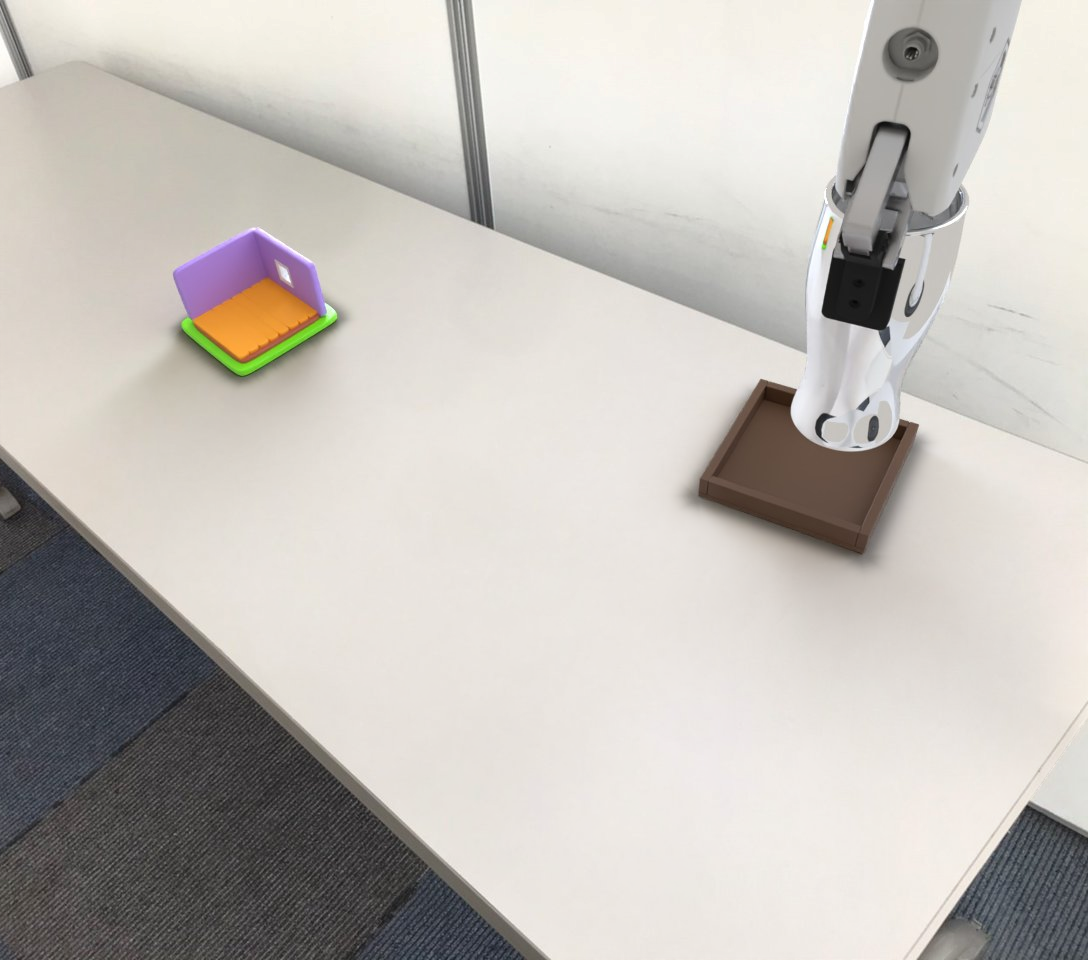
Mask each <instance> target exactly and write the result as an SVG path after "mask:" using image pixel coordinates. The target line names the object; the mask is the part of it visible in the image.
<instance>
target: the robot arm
mask: <svg viewBox="0 0 1088 960" xmlns="http://www.w3.org/2000/svg"><path fill="white" fill-rule="evenodd" d="M1022 1H1023V0H870V2H869V5H868V10H867V15H866V17H865V19H864V21H863V32H862V36H861V41H860V45H859V50H858V54H857V60H856V64H855V67H854V72H853V73H854V74H853V78H852V83H851V88H850V93H849V98H848V102H847V107H846V114H845V119H844V124H843V128H842V134H841V139H840V145H839V151H838V157H837V164H836V172H835V175H836V183H835V188H836V190H837V192H838V194H839V195H840V196H841V198H842V199H844V200H846V199H848V198H849V201H848V204H847V208H846V211H845V215H844V218H843V222H842V225H841V228H840V232H839V235H838V239H837V242H836V245H835V248H834V249H833V253H832V259H831V264H830V269H829V274H828V279H827V284H826V290H825V295H824V300H823V305H822V310H821V312H822V315H823V316H824V317H826V318H828V319H832V320H837V321H841V322H845V323H849V324H853V325H857V326H861V327H865V328H870V329H874V330H879V331H881V330H884V329H885V328H886V327H887V325H888V323H889V321H890V318H891V314H892V310H893V306H894V302H895V299H896V295H897V291H898V287H899V283H900V279H901V276H902V272H903V268H904V264H905V260H906V259H904V258H899V256H900V253H901V250H902V247H903V244H904V241H905V238H906V234H907V231H908V228H909V225H910V222H911V219H912V216H913V213H914V211H917V212H924V213H928V216H936V215H938V214H940V213H941V212H943V211H944V210H946V209H947V208H948V207H949V206H950V204H951V202H952V201H953V199H954V197H955V195H956V193H957V191H958V189H959V187H960V185H961V184H963V182H964V179H965V178H966V175H967V173H968V171H969V169H970V167H971V165H972V164H973V161H974V159H975V157H976V155H977V153H978V151H979V148H980V147H981V144H982V142H983V140H984V138H985V135H986V133H987V130H988V127H989V125H990V121H991V118H992V115H993V111H994V107H995V103H996V99H997V94H998V92H999V91H998V90H999V87H1000V83H1001V79H1002V75H1003V71H1004V67H1005V64H1006V60H1007V56H1008V52H1009V49H1010V46H1011V42H1012V39H1013V35H1014V31H1015V27H1016V23H1017V20H1018V16H1019V12H1020V9H1021V5H1022ZM895 181H896V182H901V183H906V185H907V190H908V194H907V197H903V196H897V195H892V194H890V193H891V191H892V188H893V185H894V182H895ZM849 196H850V197H849ZM885 209H887V210H892V211H898V214H897V217H896V220H895V223H894V226H893V230H892V233H891V236H890V239H889V238H888V234H887V231H884V230H880V228H881V221H882V216H883V213H884V210H885Z"/></svg>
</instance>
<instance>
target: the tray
mask: <svg viewBox="0 0 1088 960" xmlns="http://www.w3.org/2000/svg"><path fill="white" fill-rule="evenodd" d="M797 389H798V388H794V387H790V386H788V385H784V384H780V383H777V382H773V381H769V380H767V379H763V378H760V379H759V380H758V382H757V384H756V385H755V387H754V388H753V390H752V392H751V394H750V395H749V397H748V398H747V401H746V402H745V404H744V405H743V407H742V409H741V410H740V412H738V413H739V414H738V415H737V416H736V418H735V420H734V422H733V423H732V425H731V426H730V428H729V430H728V431H727V433H726V434H725V437H724V438H723V439H722V441H721V443H720V445H718V448H717V449H716V451H715V453H714V454H713V456H712V458H711V459H710V461H709V463H707V466H706V468H705V469H704V471H703V472H702V474H701V476H700V477H699V484H698V492H697V496H698V497H701V498H703V499H705V500H709V501H712V502H714V503H718V504H720V505H723V506H726V507H728V508H732V509H734V510H737V511H740V512H743V513H746V514H749V515H750V516H751V515H752V516H755V517H757V518H760V519H763V520H765V521H768V522H770V523H774V524H776V525H780V526H783V527H786V528H788V529H791V530H794V531H796V532H799V533H801V534H806V535H808V536H810V537H814V538H816V539H819V540H822V541H825V542H827V543H831V544H834V545H837V546H839V547H842V548H845V549H847V550H851V551H854V552H856V553H859V554H861V555H864V554H865V552H866V549H867V548H868V546H869V544H870V541H871V538H872V536H873V534H874V532H875V530H876V528H877V525H878V523H879V521H880V519H881V516H882V514H883V512H884V509H885V507H886V505H887V503H888V501H889V498H890V495H891V494H892V492H893V489H894V488H895V486H896V483H897V480H898V479H899V477H900V474H901V472H902V469H903V467H904V465H905V463H906V461H907V459H908V456H909V454H910V452H911V449H912V447H913V445H914V443H915V440H916V437H917V435H918V430H919V427H920V424H919V423H916V422H913V421H910V420H907V419H906V420H905V419H902V418H899V424H898V427H897V430H896V432H895V433H894V435H893V436H892V437H891V438H890V439H889V440H888V441H887V442H885V443H884V444H882V445H880V446H878V447H875V448H872V449H868V450H863V451H839V450H833V449H829V448H826V447H823V446H820V445H818V444H816V443H814V442H812V441H811V440H809V439H808V438H806V437H805V436H804V435H802V434H801V433H800V432H799V430H798V429H797V428H796V426H795V425H794V423H793V421H792V418H791V404H792V400H793V398H794V395H795V393H796V391H797Z"/></svg>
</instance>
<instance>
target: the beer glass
mask: <svg viewBox="0 0 1088 960" xmlns="http://www.w3.org/2000/svg"><path fill="white" fill-rule="evenodd" d="M835 183H836V174H835V175H834V176H833V177H832V178H830V180H829V181H828V183H827V185H826V186H825V189H824V195H823V201H822V204H821V208H820V210H819V214H818V217H817V221H816V225H815V228H814V232H813V237H812V241H811V246H810V250H809V255H808V261H807V269H806V276H805V291H804V293H805V295H804V297H805V298H804V310H805V311H804V312H805V313H804V314H805V329H806V330H805V335H806V362H805V367H804V372H803V374H802V377H801V379H800V383H799V385H798V386H797V388H796V389H797V391H796V393H795V395H794V398H793V400H792V404H791V418H792V421H793V423H794V425H795V426H796V428H797V429H798V430H799V432H800V433H801V434H802V435H804V436H805V437H806V438H808V439H809V440H811V441H812V442H814V443H816V444H818V445H820V446H823V447H826V448H829V449H833V450H839V451H863V450H868V449H872V448H875V447H878V446H880V445H882V444H884V443H885V442H887V441H888V440H889V439H890V438H891V437H892V436H893V435H894V433H895V432H896V430H897V427H898V424H899V419H901V417H900V416H901V392H902V387H903V382H904V379H905V377H906V375H907V372H908V370H909V368H910V366H911V364H912V362H913V361H914V359H915V356H916V354H917V353H918V351H919V349H920V348H921V346H922V344H923V342H924V341H925V339H926V337H927V335H928V333H929V332H930V330H931V328H932V326H933V324H934V323H935V320H936V318H937V316H938V314H939V312H940V310H941V309H942V308H941V307H942V305H943V303H944V301H945V299H946V296H947V293H948V290H949V288H950V287H949V286H950V284H951V281H952V278H953V274H954V270H955V267H956V263H957V260H958V255H959V250H960V247H961V241H962V236H963V232H964V231H963V230H964V225H965V219H966V215H967V211H968V209H969V206H970V195H969V193H968V190H967V189H966V188H965V185H963V183H961V185H960V187H959V189H958V191H957V193H956V195H955V197H954V199H953V201H952V202H951V204H950V206H949V207H948V208H947V209H946V210H944V211H943V212H941V213H940V214H938V215H936V216H928V213H924V212H917V211H914V213H913V216H912V219H911V222H910V225H909V228H908V231H907V234H906V238H905V241H904V244H903V247H902V250H901V253H900V256H899V258H904V259H906V260H905V264H904V268H903V272H902V276H901V279H900V283H899V287H898V291H897V295H896V299H895V302H894V306H893V310H892V314H891V318H890V321H889V323H888V325H887V327H886V328H885V329H884V330H881V331H879V330H874V329H870V328H865V327H861V326H857V325H853V324H849V323H845V322H841V321H837V320H832V319H828V318H826V317H824V316H823V315H822V312H821V310H822V305H823V300H824V295H825V290H826V284H827V279H828V274H829V269H830V264H831V259H832V253H833V249H834V248H835V245H836V242H837V239H838V235H839V232H840V228H841V225H842V222H843V218H844V215H845V211H846V208H847V204H848V201H849V198H848V199H846V200H844V199H842V198H841V196H840V195H839V194H838V192H837V190H836V188H835ZM890 194H892V195H897V196H903V197H907V194H908V190H907V185H906V183H901V182H896V181H895V182H894V185H893V188H892V191H891V193H890ZM849 197H850V196H849ZM897 214H898V211H892V210H887V209H885V210H884V213H883V216H882V221H881V228H880V230H884V231H887V234H888V238H889V239H890V236H891V233H892V230H893V226H894V223H895V220H896V217H897Z"/></svg>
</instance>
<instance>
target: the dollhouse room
mask: <svg viewBox="0 0 1088 960" xmlns="http://www.w3.org/2000/svg"><path fill="white" fill-rule="evenodd" d="M172 278H173V281H174V284H175V287H176V289H177V292H178V294H179V297H180V300H181V302H182V304H183V307H184V309H185V311H186V314H187V317H186V318H185V319H183V320H182V322H181V328H182V330H183V332H185V334H186V335H187V336H188V337H190V338H191V339H192V340H193V341H194V342H196V343H197V344H198V345H199V346H201V348H203V349H204V351H206V352H207V353H209V354H210V355H211V356H212V357H214V358H215V359H216V360H218V362H220V363H221V364H222V365H223V366H225V367H226V368H228V370H230V371H231V372H233V373H235V374H236V375H238V376H241V377H244V376H247V375H250V374H251V373H254V372H255V371H258V370H259V369H261V368H262V367H264V366H266V365H268V364H269V363H270V362H273V361H274V360H276V359H277V358H280V356H283V355H284V354H285V353H287V352H289V351H290V350H292V349H294V348H295V347H298V345H300V344H302V343H304V342H305V341H307V340H308V339H310V338H312V337H313V336H314V335H316V334H317V333H319V332H321V331H323V330H325V329H326V328H327V327H329V326H330V325H332V324H333V323H335V322H336V321H337V320H338V313H337V311H336V310H335V309H334V308H333V307H331V306H330V305H329V304H327V303H326V302H325V298H324V295H323V291H322V290H323V289H322V287H321V283H320V279H319V275H318V271H317V269H316V265H315V263H314V262H313V261H312V260H310V259H309V258H307V257H306V256H304V255H302V254H301V253H299V252H297V251H296V250H295V249H293V248H291V247H289V246H288V245H287V244H285V243H283V242H282V241H280V240H279V239H278V238H276V237H274V236H273V235H271V234H269V233H268V232H266V231H265V230H263V229H261V228H260V227H251V228H248V229H246V230H243V231H242V232H240V233H238V234H236V235H234V236H233V237H230V238H229V239H227V240H225V241H223V242H221V243H219V244H218V245H216V246H214V247H212V248H210V249H209V250H207V251H205V252H203V253H201V254H199V255H197V256H196V257H194V258H191V259H190V260H188V261H187V262H185V263H183V264H182V265H180V266H178V267H177V268H176V269H174V270H173V272H172Z"/></svg>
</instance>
